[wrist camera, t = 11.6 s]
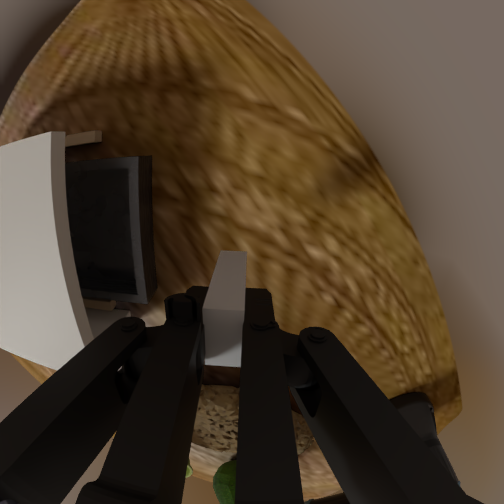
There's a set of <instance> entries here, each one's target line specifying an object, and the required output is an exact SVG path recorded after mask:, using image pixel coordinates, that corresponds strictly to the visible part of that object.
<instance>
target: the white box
mask: <svg viewBox="0 0 504 504" xmlns="http://www.w3.org/2000/svg"><path fill="white" fill-rule="evenodd" d="M96 142H102V131H98V130H94V131H88V132H82V133H76V134H71V135H66V136H65V132H53V131H51V132H47V133H43V134H40V135H36V136H32V137H29V138H25V139H22V140H19V141H16V142H13V143H10V144H7V145H4V146H1V147H0V348H2V349H4V350H6V351H8V352H10V353H13V354H15V355H17V356H20V357H22V358H25V359H27V360H30V361H32V362H35V363H38V364H40V365H43V366H46V367H49V368H52V369H55V370H57V371H58V370H59V369H60V368H61V367H62V366H63V365H64V364H66V363H67V362H68V361H69V360H70V359H71V358H72V357H74V356H75V355H76V354H77V353H78V352H79V351H81V350H82V349H83V348H84V347H85V346H87V345H88V344H89V343H90V342H91V341H92V340H94V339H95V338H96V337H97V336H98V335H100V334H101V333H102V332H103V331H104V330H106V329H107V328H108V327H109V326H110V325H112V324H113V323H114V322H115V321H117V320H119V319H121V318H124V317H131V314H130V311H129V310H121V309H114V308H115V306H116V301H115V300H107V299H100V298H92V297H85V296H82V295H81V291H80V286H79V282H78V277H77V272H76V267H75V261H74V256H73V250H72V243H71V236H70V229H69V221H68V211H67V199H66V183H65V147H70V146H76V145H82V144H89V143H96Z"/></svg>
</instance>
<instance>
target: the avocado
mask: <svg viewBox="0 0 504 504" xmlns="http://www.w3.org/2000/svg"><path fill="white" fill-rule="evenodd" d="M235 484H236V460H233V461H229V462H226V463H224V464H222V465H221V466H220V467H219V468H218V470H217V472H216V474H215V475H214V477H213V488H214V491H215V493H216V496H217V498H218V500H219V502H220V504H235Z"/></svg>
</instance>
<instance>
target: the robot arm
mask: <svg viewBox="0 0 504 504" xmlns="http://www.w3.org/2000/svg"><path fill="white" fill-rule="evenodd" d="M246 261H247V252H243V251H220V254H219V258H218V261H217V264H216V267H215V270H214V273H213V276H212V279H211V282H210V286H209V287H205V286H192V287H191V288H189V289H188V290H187V291H186V293H178V294H174V295H171V296H169V297H167V298H166V299H165V300H164V302H165V312H166V321H165V323H164V325H161V326H155V327H146V326H145V322H144V321H143V320H142V319H140V318H137V317H124V318H121V319H119V320H117V321H115V322H114V323H113V324H112V325H110V326H109V327H108V328H107V329H106V330H104V331H103V332H102V333H101V334H100V335H98V336H97V337H96V338H95V339H94V340H92V341H91V342H90V343H89V344H88V345H87V346H85V347H84V348H83V349H82V350H81V351H79V352H78V353H77V354H76V355H75V356H74V357H72V358H71V359H70V360H69V361H68V362H67V363H66V364H64V365H63V366H62V367H61V368H60V369H59V370H58V371H56V372H55V373H54V374H53V375H52V376H51V377H50V378H48V379H47V380H46V381H45V382H44V383H43V384H42V385H41V386H39V387H38V388H37V389H36V390H35V391H34V392H33V393H32V394H31V395H30V396H28V397H27V398H26V399H25V400H24V401H23V402H22V403H21V404H20V405H19V406H18V407H17V408H15V409H14V410H13V411H12V412H11V413H10V414H9V415H8V416H7V417H6V418H5V419H4V420H3V421H2V422H1V423H0V504H60V503H61V502H62V501H63V500H64V498H65V497H66V496H67V494H68V493H69V492H70V490H71V489H72V488H73V487H74V485H75V484H76V482H77V481H78V480H79V479H80V477H81V476H82V475H83V474H84V472H85V471H86V470H87V468H88V467H89V466H90V464H91V463H92V462H93V461H94V459H95V458H96V457H97V455H98V454H99V453H100V451H101V450H102V449H103V447H104V446H105V445H106V443H107V442H108V441H109V439H110V438H111V437H112V436H113V434H114V433H115V432H116V431H117V432H116V434H115V437H114V439H113V442H112V444H111V447H110V450H109V452H108V455H107V457H106V460H105V462H104V466H103V468H102V471H101V474H100V476H99V478H98V479H97V480H96V481H93V482H88V483H87V484H86V485H84V486H83V487H82V489H81V491H80V493H79V495H78V498H77V501H76V503H75V504H181V503H182V496H183V489H184V483H185V477H186V471H187V465H188V459H189V453H190V447H191V441H192V436H193V430H194V424H195V419H196V413H197V408H198V402H199V397H200V392H201V386H202V381H203V376H204V367H203V363H204V359H205V365H215V366H231V367H241V369H240V391H239V413H238V435H237V459H236V484H235V504H484V503H482V502H480V501H478V500H476V499H474V498H472V497H470V496H468V495H466V494H465V492H464V491H463V490H462V489H461V487H460V481H458V479H457V476H456V474H455V472H454V470H453V468H452V466H451V463H450V461H449V459H448V458H447V456H446V453H445V451H444V449H443V447H442V445H441V443H440V441H439V439H438V437H437V432H436V423H435V416H434V408H433V405H432V403H431V401H430V399H429V398H428V396H427V395H426V394H424V393H409V394H405V395H402V396H399V397H397V398H394V399H392V400H389V399H388V398H387V397H386V396H385V395H384V393H383V392H382V391H381V390H380V389H379V387H378V386H377V385H376V384H375V383H374V381H373V380H372V379H371V378H370V377H369V375H368V374H367V373H366V372H365V371H364V370H363V368H362V367H361V366H360V365H359V364H358V362H357V361H356V360H355V359H354V358H353V356H352V355H351V354H350V353H349V352H348V351H347V349H346V348H345V347H344V346H343V345H342V343H341V342H340V341H339V340H338V339H337V338H336V336H335V335H334V334H333V333H332V332H330V331H329V330H327V329H324V328H321V327H308V328H305V329H303V330H302V331H300V334H299V335H295V334H291V333H287V332H285V331H283V330H281V329H280V328H279V325H278V323H277V322H276V321H275V317H274V310H273V303H272V296H271V293H270V292H269V291H268V290H267V289H260V288H245V286H246ZM121 366H122V368H121V369H120V370H119V371H118V369H119V368H120V367H121ZM288 386H289V387H290V391H291V393H292V395H293V397H294V399H295V401H296V403H297V405H298V407H299V409H300V411H301V413H302V415H303V417H304V418H305V420H306V422H307V424H308V426H309V428H310V430H311V432H312V434H313V436H314V438H315V440H316V442H317V443H318V445H319V447H320V449H321V451H322V453H323V455H324V457H325V458H326V460H327V462H328V464H329V466H330V468H331V470H332V471H333V473H334V475H335V477H336V479H337V481H338V482H339V484H340V486H341V488H342V490H343V491H344V492H343V493H340V494H336V495H332V496H328V497H324V498H319V499H315V500H314V499H310V500H308V501H305V502H304V500H303V493H302V485H301V477H300V469H299V462H298V454H297V447H296V439H295V432H294V425H293V417H292V410H291V403H290V396H289V390H288Z"/></svg>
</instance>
